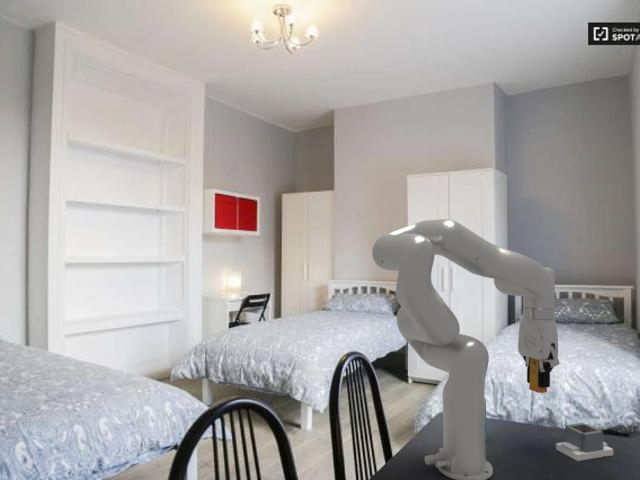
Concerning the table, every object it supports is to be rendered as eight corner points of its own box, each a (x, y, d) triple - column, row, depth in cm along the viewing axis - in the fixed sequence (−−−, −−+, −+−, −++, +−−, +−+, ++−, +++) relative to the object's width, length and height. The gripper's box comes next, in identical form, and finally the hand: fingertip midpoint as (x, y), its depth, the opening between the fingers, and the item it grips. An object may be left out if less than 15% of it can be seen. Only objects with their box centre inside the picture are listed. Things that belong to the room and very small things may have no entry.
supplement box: (548, 392, 124) (548, 353, 125) (537, 393, 123) (537, 354, 124) (539, 388, 128) (539, 350, 128) (528, 389, 127) (528, 351, 127)
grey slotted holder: (577, 461, 117) (577, 436, 117) (556, 449, 124) (555, 426, 124) (613, 455, 120) (612, 431, 120) (590, 443, 127) (590, 421, 127)
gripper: (505, 310, 133) (505, 377, 132) (549, 319, 117) (549, 395, 117) (528, 309, 135) (528, 375, 134) (575, 318, 119) (574, 393, 119)
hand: (538, 384), depth 125 cm, fingers closed on supplement box, 3 cm apart
